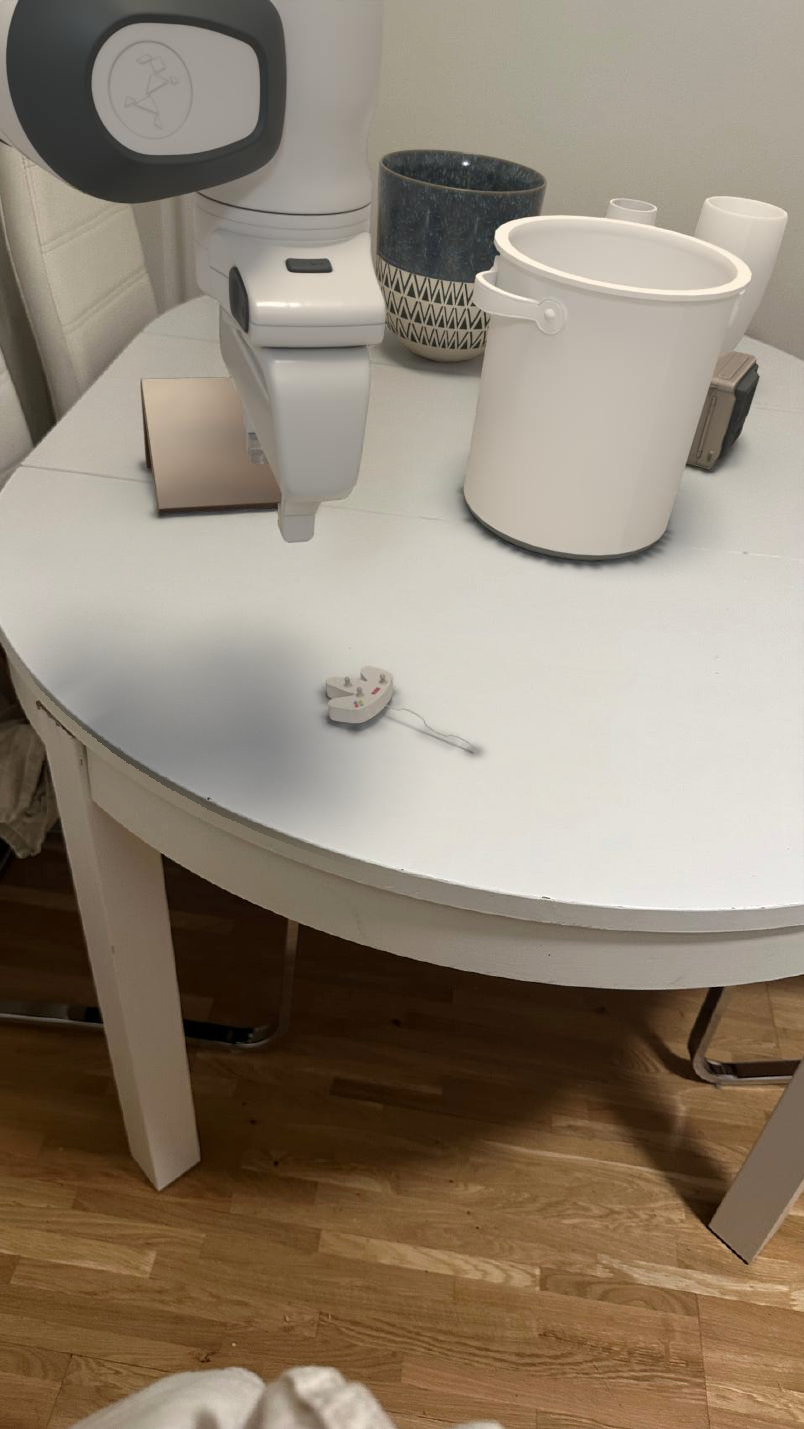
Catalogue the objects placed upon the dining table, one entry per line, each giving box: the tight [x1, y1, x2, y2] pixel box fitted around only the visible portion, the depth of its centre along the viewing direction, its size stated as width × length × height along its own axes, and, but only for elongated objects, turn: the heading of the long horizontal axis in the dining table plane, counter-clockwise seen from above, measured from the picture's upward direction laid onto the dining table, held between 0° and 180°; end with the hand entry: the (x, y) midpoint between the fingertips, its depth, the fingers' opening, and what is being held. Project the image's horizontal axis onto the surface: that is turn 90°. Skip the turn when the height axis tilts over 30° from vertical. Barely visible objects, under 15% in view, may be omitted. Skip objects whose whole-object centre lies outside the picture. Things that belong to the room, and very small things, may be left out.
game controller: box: [325, 665, 475, 750], centre depth 73 cm, size 6×12×3 cm, turn 80°
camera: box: [686, 350, 761, 470], centre depth 111 cm, size 11×6×10 cm, turn 149°
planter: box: [375, 148, 548, 363], centre depth 123 cm, size 20×20×21 cm
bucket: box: [462, 214, 752, 562], centre depth 92 cm, size 26×22×24 cm
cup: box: [693, 195, 789, 357], centre depth 122 cm, size 10×10×22 cm
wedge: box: [140, 376, 282, 515], centre depth 94 cm, size 11×14×9 cm
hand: (277, 495), depth 60 cm, fingers open, 8 cm apart
